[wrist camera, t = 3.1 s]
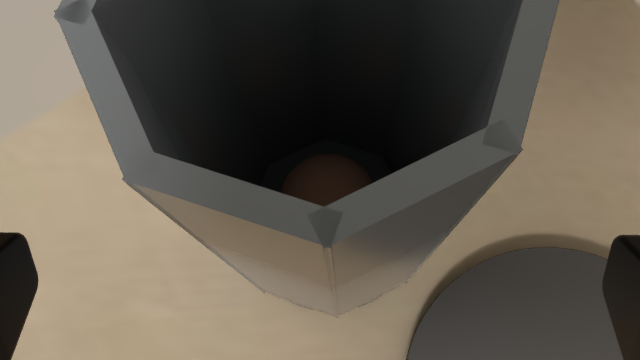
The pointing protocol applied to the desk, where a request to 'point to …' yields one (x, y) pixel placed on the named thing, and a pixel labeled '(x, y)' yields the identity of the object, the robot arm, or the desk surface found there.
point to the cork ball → (325, 179)
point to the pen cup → (312, 123)
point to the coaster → (521, 311)
